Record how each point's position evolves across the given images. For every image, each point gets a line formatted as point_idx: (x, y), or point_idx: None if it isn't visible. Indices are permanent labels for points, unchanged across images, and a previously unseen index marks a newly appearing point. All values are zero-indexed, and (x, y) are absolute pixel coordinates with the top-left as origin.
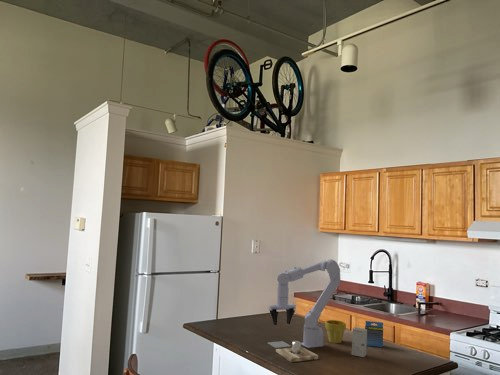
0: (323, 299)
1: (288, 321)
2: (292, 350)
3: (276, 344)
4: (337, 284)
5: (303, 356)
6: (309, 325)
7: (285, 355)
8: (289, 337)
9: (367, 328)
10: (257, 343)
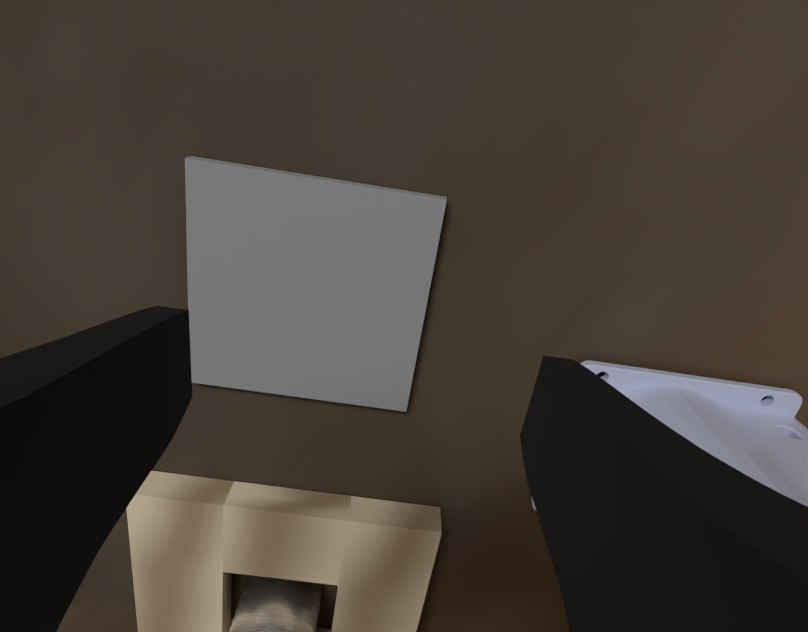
0: None
1: (540, 458)
2: (231, 625)
3: (273, 288)
4: None
5: None
6: None
7: (138, 627)
8: (743, 7)
9: None
10: (57, 80)
